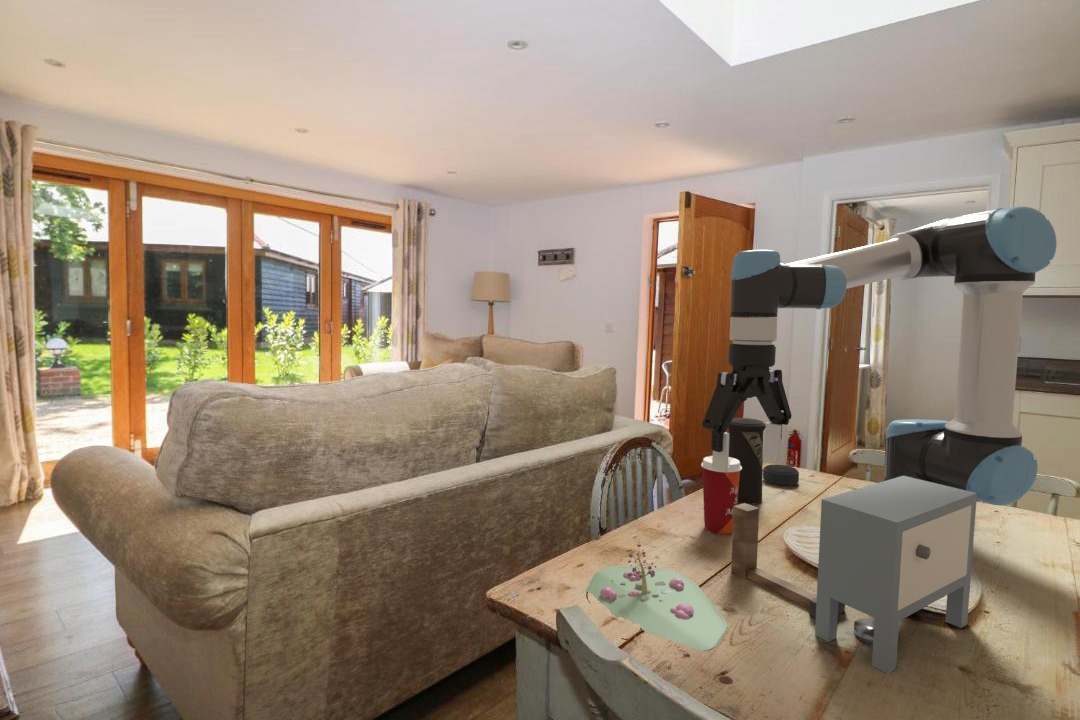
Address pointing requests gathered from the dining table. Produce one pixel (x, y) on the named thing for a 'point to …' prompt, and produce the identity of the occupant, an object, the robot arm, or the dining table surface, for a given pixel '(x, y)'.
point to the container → (748, 457)
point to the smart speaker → (780, 475)
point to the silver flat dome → (864, 630)
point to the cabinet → (894, 557)
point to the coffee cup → (720, 495)
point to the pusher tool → (747, 559)
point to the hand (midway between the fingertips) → (746, 464)
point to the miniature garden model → (660, 603)
